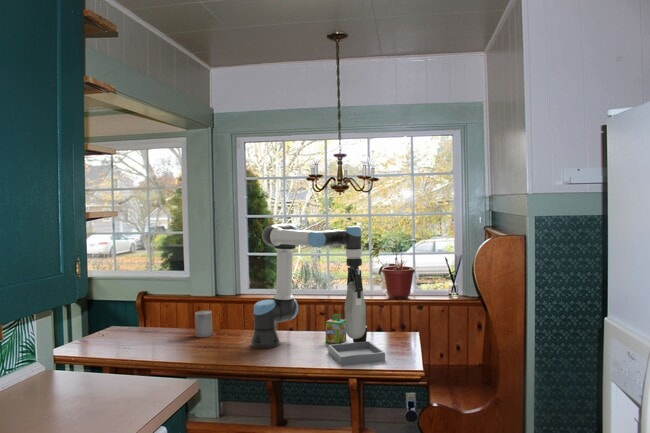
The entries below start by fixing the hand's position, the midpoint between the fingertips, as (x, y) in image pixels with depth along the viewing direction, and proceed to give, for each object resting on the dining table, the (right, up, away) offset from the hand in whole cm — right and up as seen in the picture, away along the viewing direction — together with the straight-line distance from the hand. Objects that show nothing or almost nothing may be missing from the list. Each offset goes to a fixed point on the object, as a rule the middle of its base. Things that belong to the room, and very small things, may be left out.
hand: (355, 303), depth 258 cm
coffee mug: (+4, -26, +22) cm, 35 cm away
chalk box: (-8, -26, +30) cm, 41 cm away
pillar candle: (-85, -27, +50) cm, 103 cm away
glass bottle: (0, -17, 0) cm, 17 cm away
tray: (+1, -26, +1) cm, 27 cm away
